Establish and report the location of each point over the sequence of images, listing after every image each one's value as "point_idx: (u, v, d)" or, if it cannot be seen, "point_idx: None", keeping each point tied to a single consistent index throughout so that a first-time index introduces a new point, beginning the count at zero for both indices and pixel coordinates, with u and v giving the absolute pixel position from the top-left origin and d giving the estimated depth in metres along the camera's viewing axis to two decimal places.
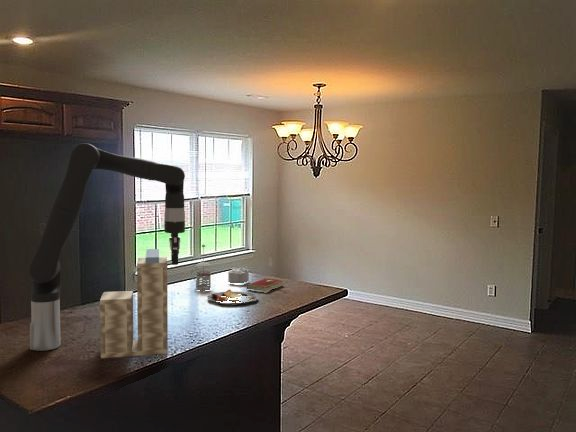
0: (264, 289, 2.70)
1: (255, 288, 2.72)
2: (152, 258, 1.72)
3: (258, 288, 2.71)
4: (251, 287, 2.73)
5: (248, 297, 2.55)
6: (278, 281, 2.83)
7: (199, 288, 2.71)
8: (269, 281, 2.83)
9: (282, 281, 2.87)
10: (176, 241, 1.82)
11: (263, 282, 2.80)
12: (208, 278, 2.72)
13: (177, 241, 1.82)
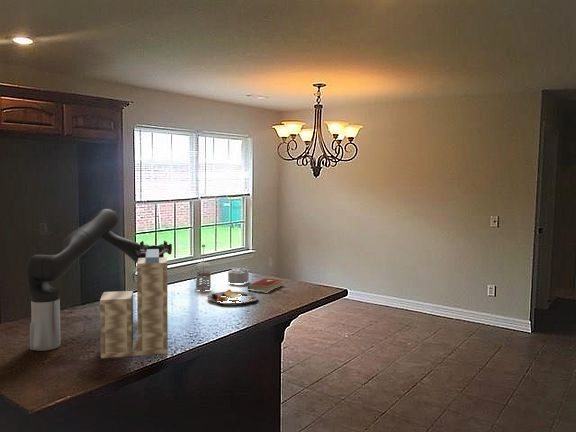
0: (266, 289, 2.70)
1: (256, 288, 2.72)
2: (152, 258, 1.72)
3: (259, 288, 2.71)
4: (252, 287, 2.73)
5: (248, 297, 2.55)
6: (278, 281, 2.84)
7: (199, 288, 2.71)
8: (269, 281, 2.83)
9: None
10: None
11: (263, 282, 2.80)
12: (208, 278, 2.72)
13: None
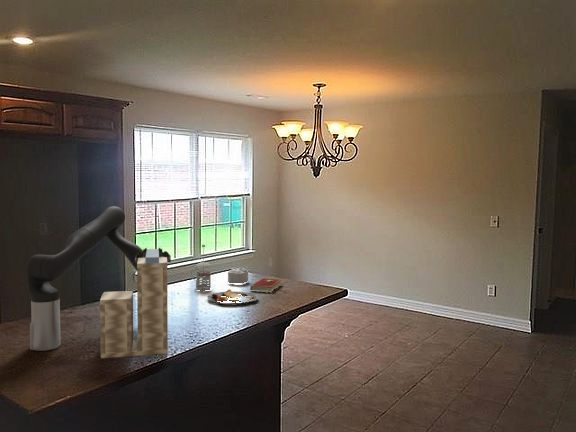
0: (269, 289, 2.70)
1: (259, 289, 2.71)
2: (152, 258, 1.72)
3: (263, 288, 2.71)
4: (255, 288, 2.72)
5: (248, 297, 2.55)
6: (278, 280, 2.85)
7: (199, 288, 2.71)
8: None
9: (280, 280, 2.88)
10: (169, 258, 1.95)
11: (264, 282, 2.80)
12: (208, 278, 2.72)
13: (170, 259, 1.94)
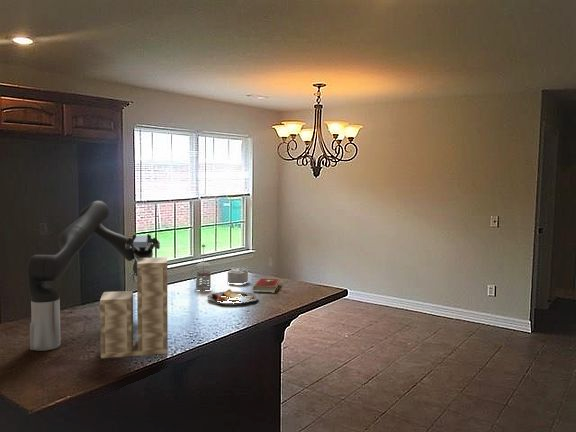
0: (273, 289, 2.70)
1: (263, 289, 2.71)
2: (140, 242, 1.81)
3: (266, 288, 2.70)
4: (258, 288, 2.71)
5: (248, 297, 2.55)
6: (277, 280, 2.86)
7: (199, 288, 2.71)
8: (269, 281, 2.83)
9: (279, 280, 2.89)
10: (158, 245, 2.04)
11: (265, 282, 2.80)
12: (208, 278, 2.72)
13: (158, 246, 2.04)
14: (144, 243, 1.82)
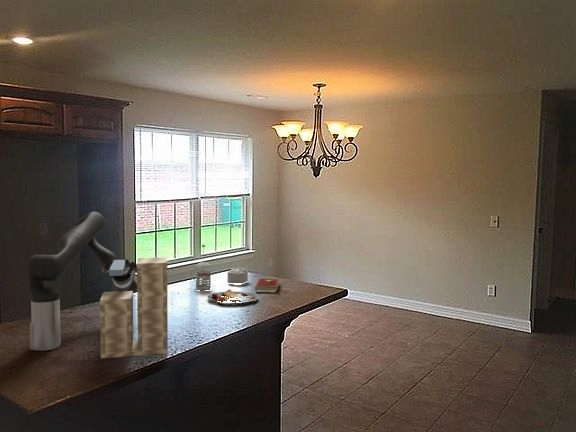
0: (275, 289, 2.70)
1: (264, 289, 2.71)
2: (116, 271, 1.71)
3: (268, 288, 2.70)
4: (260, 288, 2.71)
5: (248, 297, 2.55)
6: (277, 280, 2.86)
7: (199, 288, 2.71)
8: (269, 281, 2.84)
9: (278, 280, 2.90)
10: None
11: (265, 282, 2.80)
12: (208, 278, 2.72)
13: None
14: (120, 271, 1.72)
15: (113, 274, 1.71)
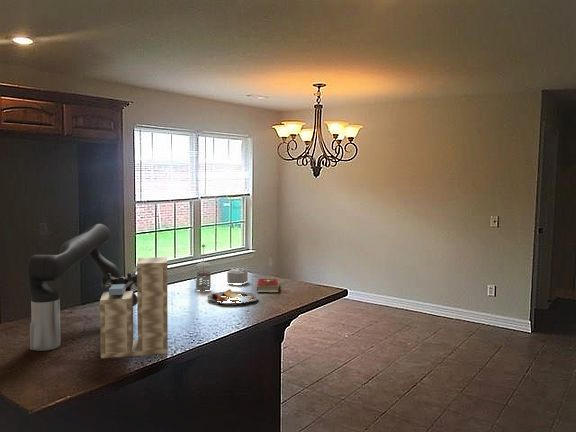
0: (277, 289, 2.71)
1: (266, 289, 2.71)
2: (115, 290, 1.70)
3: (270, 288, 2.71)
4: (261, 288, 2.70)
5: (248, 297, 2.55)
6: (276, 280, 2.86)
7: (199, 288, 2.71)
8: (269, 281, 2.84)
9: None
10: None
11: (266, 282, 2.80)
12: (208, 278, 2.72)
13: None
14: (120, 290, 1.70)
15: (113, 293, 1.70)
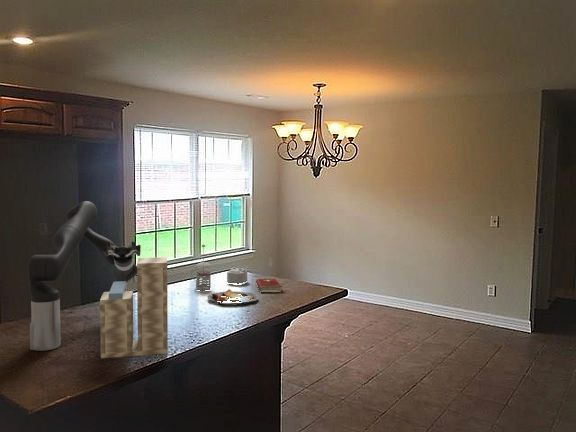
0: (279, 288, 2.72)
1: (269, 289, 2.71)
2: (115, 294, 1.70)
3: (273, 288, 2.71)
4: (265, 288, 2.70)
5: (248, 297, 2.55)
6: (276, 280, 2.87)
7: (199, 288, 2.71)
8: (269, 281, 2.84)
9: None
10: None
11: (267, 282, 2.80)
12: (208, 278, 2.72)
13: None
14: (120, 294, 1.70)
15: (113, 298, 1.70)
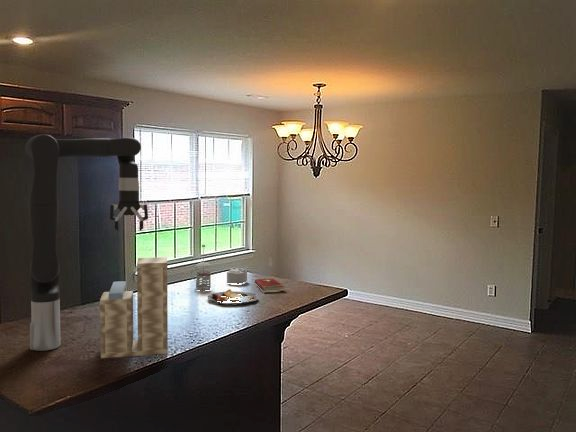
0: (282, 288, 2.73)
1: (272, 289, 2.71)
2: (115, 294, 1.70)
3: (275, 288, 2.71)
4: (267, 288, 2.70)
5: (248, 297, 2.55)
6: (275, 279, 2.88)
7: (199, 288, 2.71)
8: (269, 281, 2.84)
9: None
10: None
11: (267, 282, 2.80)
12: (208, 278, 2.72)
13: None
14: (120, 294, 1.70)
15: (113, 298, 1.70)
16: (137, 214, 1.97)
